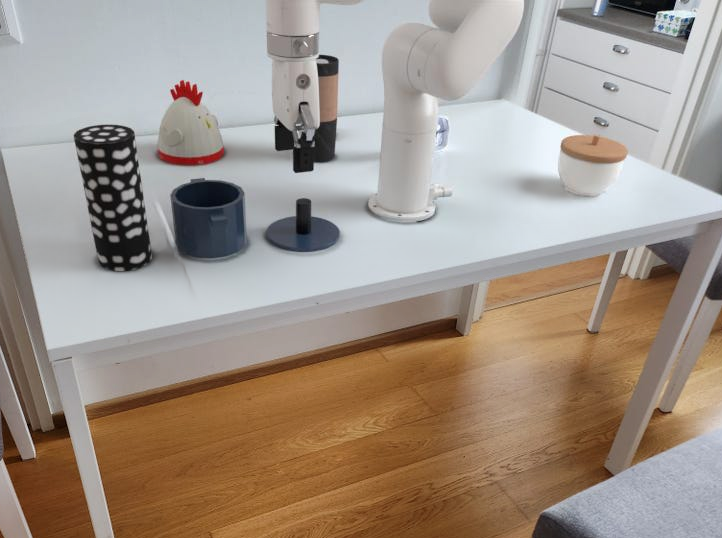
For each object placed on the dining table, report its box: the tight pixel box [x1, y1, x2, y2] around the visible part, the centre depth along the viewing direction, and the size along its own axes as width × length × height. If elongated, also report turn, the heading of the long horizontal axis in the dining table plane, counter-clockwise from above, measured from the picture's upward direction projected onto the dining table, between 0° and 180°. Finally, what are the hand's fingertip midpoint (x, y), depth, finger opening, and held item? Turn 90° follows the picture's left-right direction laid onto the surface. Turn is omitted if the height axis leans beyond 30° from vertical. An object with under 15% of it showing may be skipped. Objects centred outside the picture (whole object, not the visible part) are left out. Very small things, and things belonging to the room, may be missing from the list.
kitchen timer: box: [157, 79, 225, 166], centre depth 142 cm, size 14×14×15 cm
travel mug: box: [300, 54, 340, 163], centre depth 142 cm, size 8×8×20 cm
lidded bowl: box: [557, 134, 629, 198], centre depth 135 cm, size 13×13×11 cm
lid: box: [266, 197, 341, 253], centre depth 114 cm, size 12×12×7 cm
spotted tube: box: [73, 124, 153, 272], centre depth 102 cm, size 8×8×20 cm
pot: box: [169, 177, 248, 259], centre depth 111 cm, size 12×17×9 cm
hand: (293, 160), depth 108 cm, fingers open, 9 cm apart
